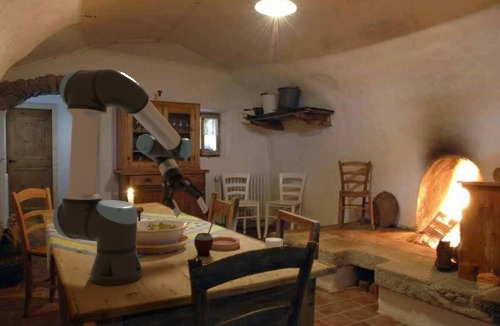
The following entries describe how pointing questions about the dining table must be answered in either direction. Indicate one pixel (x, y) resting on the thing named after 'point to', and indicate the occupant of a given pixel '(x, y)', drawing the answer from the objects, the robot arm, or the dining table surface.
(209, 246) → the mate gourd
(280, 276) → the dining table surface
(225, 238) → the ring saucer
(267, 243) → the white cup
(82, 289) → the dining table surface
